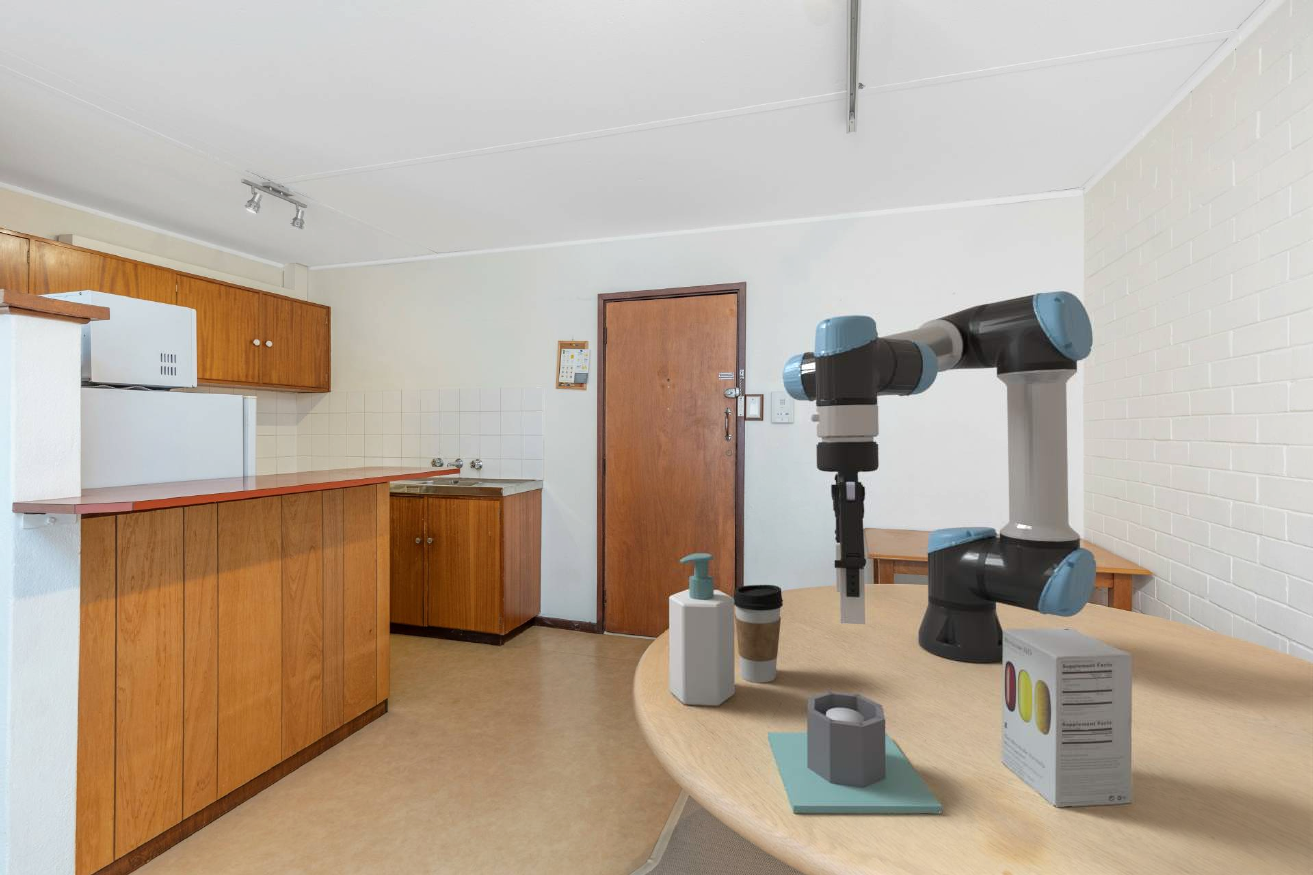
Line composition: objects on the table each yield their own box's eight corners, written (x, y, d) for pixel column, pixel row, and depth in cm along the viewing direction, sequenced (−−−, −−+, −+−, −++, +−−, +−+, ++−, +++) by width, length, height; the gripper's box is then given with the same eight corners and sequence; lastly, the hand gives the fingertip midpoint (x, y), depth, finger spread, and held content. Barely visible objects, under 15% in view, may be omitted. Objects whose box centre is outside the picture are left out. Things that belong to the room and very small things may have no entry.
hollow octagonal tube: (808, 741, 78) (808, 688, 78) (880, 751, 75) (880, 696, 75) (806, 779, 69) (806, 719, 69) (887, 791, 67) (887, 729, 67)
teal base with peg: (886, 738, 80) (886, 687, 80) (941, 813, 64) (941, 750, 64) (767, 738, 80) (767, 687, 80) (793, 812, 64) (793, 750, 64)
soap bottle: (662, 685, 97) (661, 551, 97) (711, 676, 101) (711, 547, 101) (690, 712, 88) (690, 563, 88) (743, 701, 92) (743, 558, 92)
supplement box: (999, 761, 74) (998, 627, 74) (1068, 758, 75) (1067, 625, 75) (1057, 809, 65) (1056, 655, 65) (1135, 805, 66) (1135, 652, 66)
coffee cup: (783, 687, 96) (783, 595, 96) (731, 683, 98) (730, 593, 98) (783, 668, 105) (782, 583, 105) (734, 664, 106) (734, 580, 106)
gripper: (816, 438, 89) (818, 580, 89) (816, 442, 65) (819, 636, 65) (869, 437, 87) (871, 582, 87) (890, 441, 63) (893, 641, 63)
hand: (849, 606), depth 76 cm, fingers open, 13 cm apart
